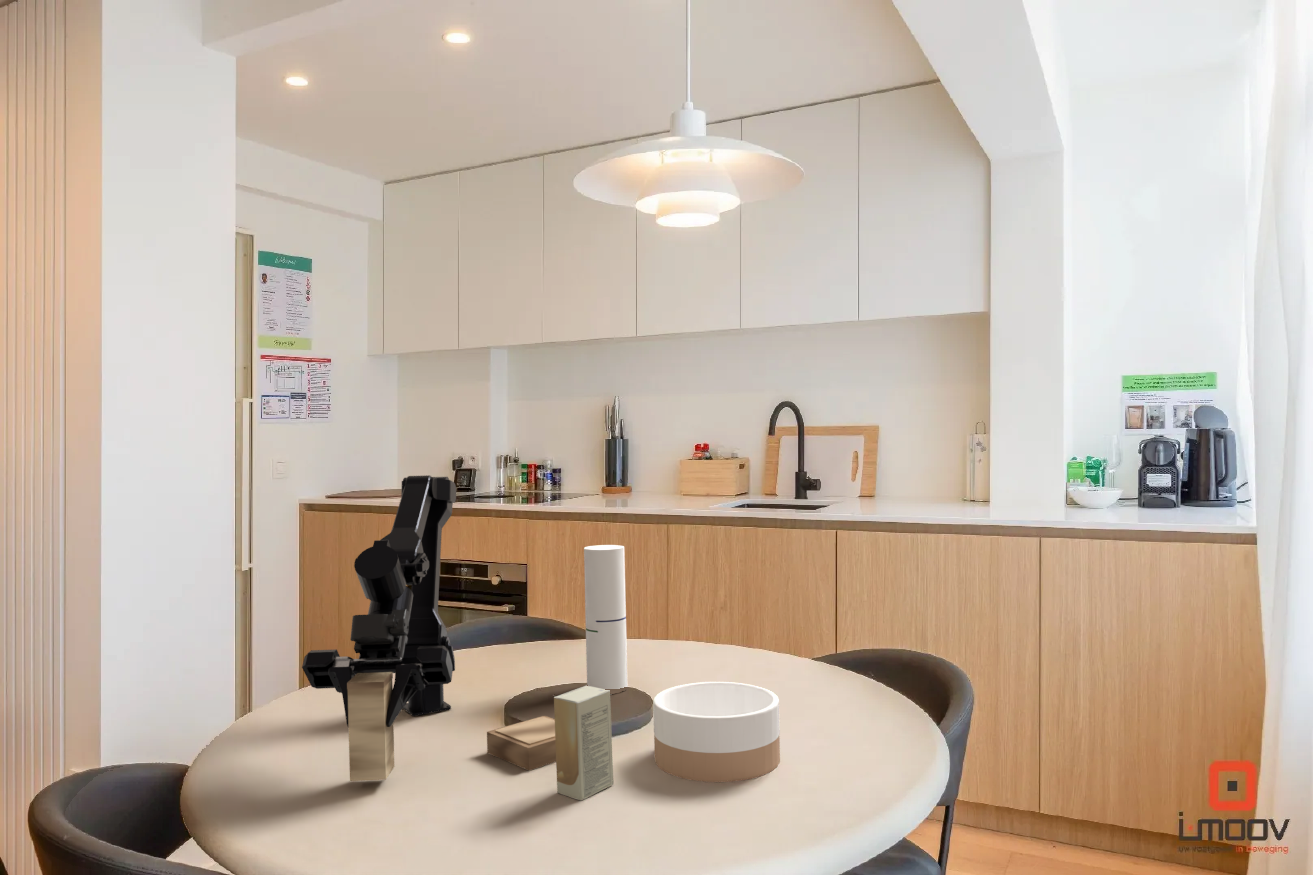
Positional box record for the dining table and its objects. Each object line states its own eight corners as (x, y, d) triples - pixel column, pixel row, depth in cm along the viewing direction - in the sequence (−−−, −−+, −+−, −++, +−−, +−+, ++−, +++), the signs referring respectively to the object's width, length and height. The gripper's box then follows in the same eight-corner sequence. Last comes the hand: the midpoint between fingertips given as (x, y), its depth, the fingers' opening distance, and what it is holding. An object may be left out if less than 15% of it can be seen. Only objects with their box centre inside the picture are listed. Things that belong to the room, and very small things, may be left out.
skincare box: (589, 777, 116) (587, 683, 116) (614, 785, 113) (612, 689, 113) (554, 793, 111) (551, 695, 111) (579, 802, 108) (577, 701, 108)
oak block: (359, 767, 118) (357, 673, 118) (394, 766, 118) (392, 671, 118) (349, 781, 113) (347, 682, 113) (386, 779, 113) (383, 681, 113)
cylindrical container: (622, 695, 153) (618, 549, 154) (582, 693, 155) (578, 549, 155) (631, 683, 160) (628, 544, 161) (593, 682, 162) (590, 544, 162)
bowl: (637, 748, 127) (635, 689, 127) (745, 731, 133) (744, 675, 133) (683, 791, 111) (681, 724, 111) (804, 770, 117) (802, 707, 117)
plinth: (487, 752, 126) (486, 730, 126) (544, 735, 133) (543, 714, 133) (529, 770, 119) (528, 746, 119) (587, 751, 126) (586, 728, 126)
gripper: (304, 590, 119) (276, 697, 108) (446, 585, 120) (432, 692, 109) (325, 635, 127) (300, 740, 116) (458, 631, 128) (445, 734, 117)
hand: (368, 726), depth 114 cm, fingers closed on oak block, 4 cm apart
